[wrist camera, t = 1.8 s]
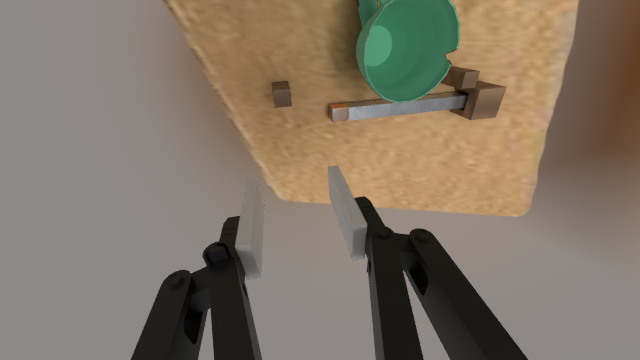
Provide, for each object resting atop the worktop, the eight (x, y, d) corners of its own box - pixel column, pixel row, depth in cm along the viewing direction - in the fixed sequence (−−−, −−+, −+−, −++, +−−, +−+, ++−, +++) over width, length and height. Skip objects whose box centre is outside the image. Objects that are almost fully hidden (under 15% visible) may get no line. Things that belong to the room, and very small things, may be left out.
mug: (417, 63, 33) (466, 73, 25) (355, 98, 34) (382, 120, 26) (385, -70, 25) (442, -123, 17) (306, -18, 26) (322, -42, 18)
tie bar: (328, 104, 33) (332, 109, 31) (490, 88, 36) (503, 91, 34) (329, 117, 35) (332, 122, 33) (486, 100, 38) (498, 104, 36)
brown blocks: (272, 82, 31) (272, 90, 27) (485, 63, 35) (514, 68, 30) (279, 130, 35) (280, 143, 30) (471, 108, 38) (496, 117, 34)
